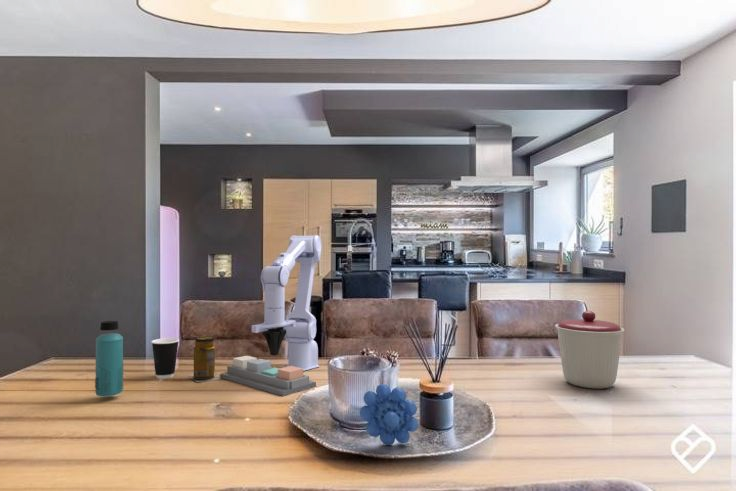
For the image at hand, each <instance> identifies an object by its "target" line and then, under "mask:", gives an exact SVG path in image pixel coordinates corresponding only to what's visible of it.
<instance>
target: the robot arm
mask: <svg viewBox="0 0 736 491" xmlns="http://www.w3.org/2000/svg"><path fill="white" fill-rule="evenodd" d="M288 240H289V241H288V248H287V249H286V251H285V252H280V253H279V255H278V256H277V257H276V258H275V259H274V260H273V261H272V263H271V264H270V265H267V266H265V267H264V268H263V269H262V270H261V273H260V282H261V285H262V292H264V295H263V296H264V302H263V303H264V310H263V311H264V312H263V313H264V321H263V322H261V323H258V324H252V325H251V333H253V334H254V333H255V334H259V333H261V334H262V335H263V337H264V340H265V341H266V344H267V346H268V350H269V354H270V355H271V356H275V357H276V356H278V355H279V353H280V349H281V345H282V343H283V340H284V338H285V339H286V342H288V345H287V346H288V351H287V353H288V359H287V360H288V361H287V362H288V363H287V365H285V366H283V367H282V368H285V367H289V366H294V367H298V368H303V372H304V371H309V370H312V369H313V370H314V369H316V368H319V367H320V366H321V365H319V363H318V362H319V361H318V359H319V347H318V343H317V341H315V340H314V339H315V338H316V336H317V335H316V334H317V319H316V316H315V315H314V314H312V313H311V312H310V306H311V299H312V291H313V283H314V276H315V268H316V264H317V263H319V262H320V259H321V255H322V246H323V245H322V240H321V237H320V236H319V235H317V234H316V235H294V234H293V235H291V236H290V238H289V239H288ZM296 262H297V263H298V264H299V265H300V266H299V274H298V279H297V280H298V281H297V286H296V287H297V288H296V294H295V300H294V301H295V303H294V307H293V308H294V309H293V310H292V311H290V313H288V314H286V313H285V308H286V307H285V305H286V304H285V303H286V302H285V294H286V293H285V290H286V288H285V286H286V285H287V284H288V281H289V278H290V273H291V271H292V270H293V269H294V268H295V265H296ZM285 314H286V317H285Z"/></svg>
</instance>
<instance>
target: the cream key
mask: <svg viewBox="0 0 736 491" xmlns="http://www.w3.org/2000/svg"><path fill="white" fill-rule="evenodd" d="M253 360H258V358H257V357H254V356H251V355H244V356H237V357H233V358H232V364H233V366H235V367H238V368H242V369H243V368H247V362H248V361H253Z"/></svg>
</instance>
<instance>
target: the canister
mask: <svg viewBox="0 0 736 491" xmlns="http://www.w3.org/2000/svg"><path fill="white" fill-rule="evenodd" d="M554 327H555V329H557V337H558V345H559V351H560V361H561V369H562V373H563V376H564V379H565V380H566V381H567V382H568V383H569V384H571V385H573V386H577V387H579V388H580V387H581V388H586V389H595V390H596V389H597V390H600V389H602V390H603V389H607V388H611V387H612V386H614V384H615V383H616V381H617V376H618V372H619V371H618V370H619V362H620V353H621V345H622V335H623V333H624V332H625V328H623V327H621V326H620V325H619V324H617V323H614V322H611V321H606V320H597V319H596V313H595V312H593V311H591V310H585V311H583V312H581V318H577V319H576V318H573V319H566V320H565V319H564V320H562V321H560V322H558V323H556V324H555V325H554Z"/></svg>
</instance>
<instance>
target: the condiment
mask: <svg viewBox="0 0 736 491" xmlns="http://www.w3.org/2000/svg"><path fill="white" fill-rule="evenodd" d="M214 339H215V338H214V337H212V336H199V337H196V338H195V341H194V342H195V344H194V348H193V375H189V376H187V377H188V378H189V379H190V380H193V381H194V382H196V383H204V382H210V381H218V380H221V379H222V378H220V376H217V375H215V372H216V371H215V370H216V369H215V367H216V366H215V365H216V356H215V355H216V347H215V345H214V344H215V343H214Z"/></svg>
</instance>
